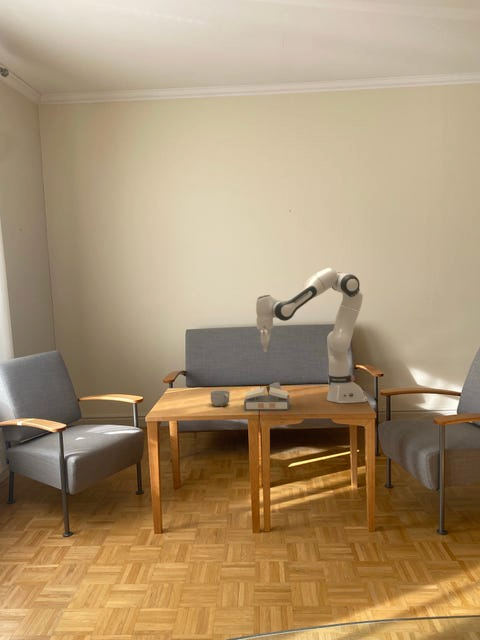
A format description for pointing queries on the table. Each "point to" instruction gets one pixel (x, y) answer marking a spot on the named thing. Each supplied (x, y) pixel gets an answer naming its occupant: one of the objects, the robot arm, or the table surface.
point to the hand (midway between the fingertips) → (265, 350)
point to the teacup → (219, 397)
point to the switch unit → (267, 403)
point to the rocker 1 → (255, 393)
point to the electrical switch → (273, 386)
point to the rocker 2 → (278, 392)
